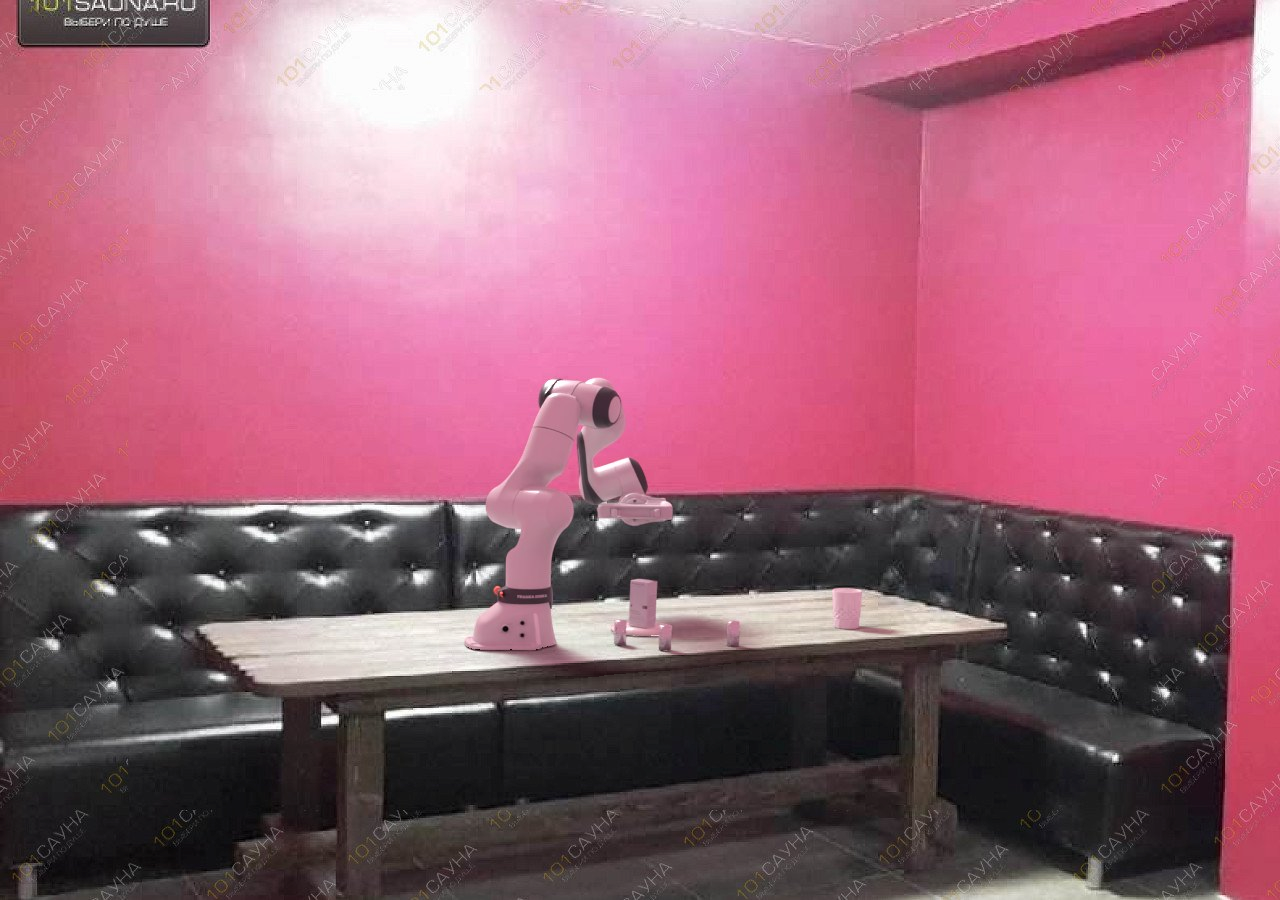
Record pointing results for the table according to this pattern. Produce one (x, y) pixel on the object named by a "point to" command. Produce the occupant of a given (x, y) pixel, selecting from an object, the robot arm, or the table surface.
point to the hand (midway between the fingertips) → (635, 514)
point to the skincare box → (642, 603)
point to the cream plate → (641, 630)
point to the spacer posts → (666, 634)
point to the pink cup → (846, 607)
